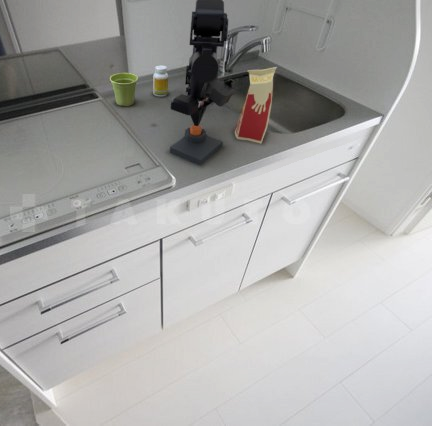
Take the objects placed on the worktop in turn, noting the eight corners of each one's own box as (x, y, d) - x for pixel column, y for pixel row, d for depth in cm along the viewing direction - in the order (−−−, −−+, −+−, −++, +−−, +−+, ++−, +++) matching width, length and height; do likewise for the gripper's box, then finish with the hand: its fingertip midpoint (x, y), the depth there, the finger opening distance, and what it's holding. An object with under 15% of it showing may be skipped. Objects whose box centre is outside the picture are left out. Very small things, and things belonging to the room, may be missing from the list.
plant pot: (143, 104, 107) (143, 79, 101) (120, 111, 103) (118, 85, 97) (130, 95, 112) (129, 70, 106) (107, 101, 108) (104, 76, 102)
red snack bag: (265, 129, 96) (285, 62, 82) (262, 144, 89) (283, 74, 75) (236, 124, 98) (251, 58, 84) (232, 138, 91) (246, 69, 77)
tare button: (193, 129, 89) (194, 123, 87) (203, 132, 87) (203, 127, 86) (187, 133, 87) (188, 127, 86) (197, 137, 85) (198, 131, 84)
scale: (191, 135, 92) (192, 124, 90) (221, 147, 88) (224, 136, 85) (168, 152, 85) (168, 141, 83) (200, 166, 81) (201, 154, 78)
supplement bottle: (151, 92, 115) (151, 65, 108) (164, 90, 116) (165, 63, 109) (156, 98, 111) (156, 70, 104) (169, 96, 112) (170, 69, 106)
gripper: (212, 87, 66) (203, 149, 77) (249, 64, 76) (237, 121, 87) (170, 74, 70) (168, 134, 81) (211, 55, 81) (204, 110, 92)
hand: (196, 125), depth 85 cm, fingers closed
